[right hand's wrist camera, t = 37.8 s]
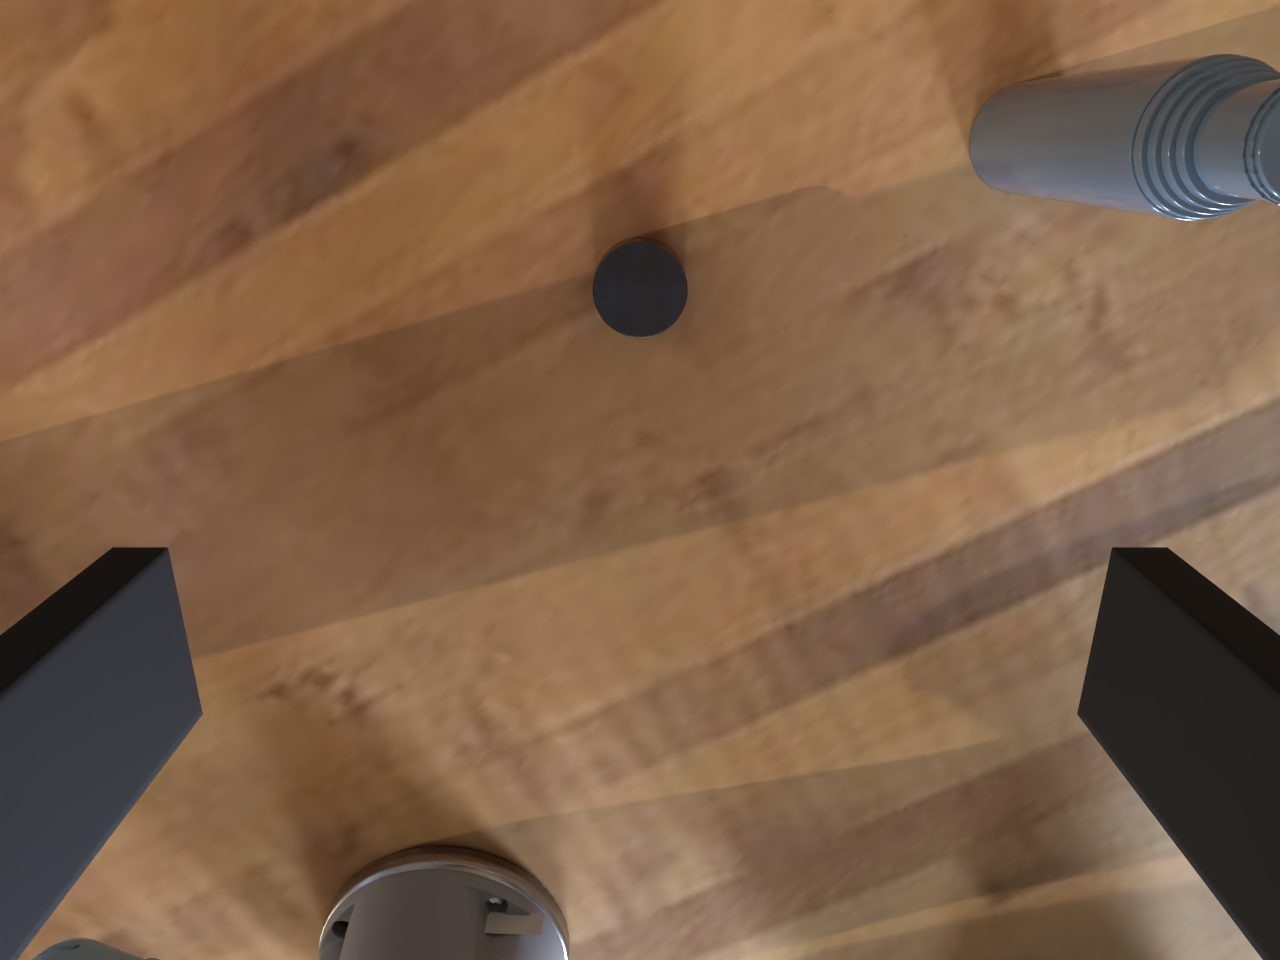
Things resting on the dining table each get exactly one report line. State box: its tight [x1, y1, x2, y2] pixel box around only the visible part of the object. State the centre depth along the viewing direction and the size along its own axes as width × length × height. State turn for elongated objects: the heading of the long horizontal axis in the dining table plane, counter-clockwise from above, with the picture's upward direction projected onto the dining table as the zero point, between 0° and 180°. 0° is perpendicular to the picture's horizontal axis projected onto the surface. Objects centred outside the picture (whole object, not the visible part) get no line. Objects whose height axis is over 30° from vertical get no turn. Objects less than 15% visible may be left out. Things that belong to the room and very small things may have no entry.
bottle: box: [969, 54, 1280, 221], centre depth 31 cm, size 5×5×19 cm
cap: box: [593, 237, 687, 337], centre depth 41 cm, size 4×4×2 cm
